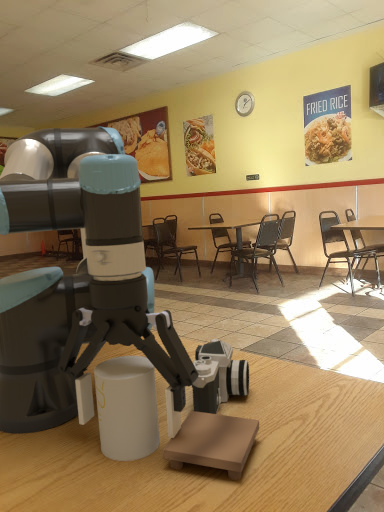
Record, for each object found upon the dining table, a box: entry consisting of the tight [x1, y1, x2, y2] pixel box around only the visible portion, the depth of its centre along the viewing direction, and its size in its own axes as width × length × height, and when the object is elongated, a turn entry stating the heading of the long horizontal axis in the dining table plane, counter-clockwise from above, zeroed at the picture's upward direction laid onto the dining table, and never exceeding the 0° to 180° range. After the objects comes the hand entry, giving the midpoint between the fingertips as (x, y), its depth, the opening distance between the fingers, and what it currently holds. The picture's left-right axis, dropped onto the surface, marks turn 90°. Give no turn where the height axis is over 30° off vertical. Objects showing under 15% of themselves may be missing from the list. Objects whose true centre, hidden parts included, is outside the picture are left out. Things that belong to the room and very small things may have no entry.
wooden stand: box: [162, 410, 260, 481], centre depth 58 cm, size 10×10×3 cm
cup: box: [93, 355, 161, 462], centre depth 60 cm, size 8×8×12 cm
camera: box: [191, 338, 250, 414], centre depth 73 cm, size 16×9×10 cm, turn 168°
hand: (129, 426), depth 60 cm, fingers open, 13 cm apart
